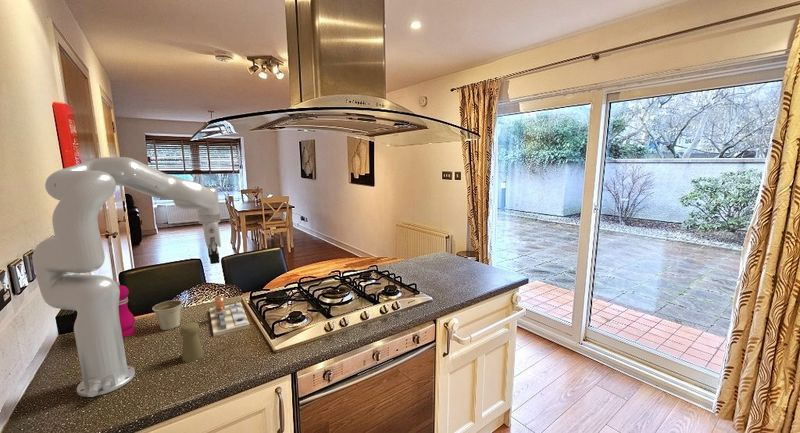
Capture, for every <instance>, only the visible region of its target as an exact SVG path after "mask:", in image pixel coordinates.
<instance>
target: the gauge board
mask: <svg viewBox="0 0 800 433" xmlns="http://www.w3.org/2000/svg"><path fill="white" fill-rule="evenodd" d="M224 306H225V308H229V307H234V306H237V307H238V311H236V309H231V310H227V311H226V316H225V315H224V313H222V314H218V318H216V312H215V310H216V304H214V307H211V308H209V315H210V321H211V328H212V334H213V337H217V336H221V335H224V334H229V333H232V332H233V333H234V332H237V331H241V330H245V329H249V328H250V327H251V324H250V322H249V319H248V317H247V315H246V312H245V309H244V307H243V303H242V302H241V301H239V302H237V301H231V302H224Z"/></svg>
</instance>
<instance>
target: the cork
mask: <svg viewBox="0 0 800 433" xmlns="http://www.w3.org/2000/svg"><path fill="white" fill-rule="evenodd" d="M199 331H200V325H199V324H198V323H197V322H188V323H185V324H183V325H181V327H180V330H179V332H180V335H181V336H182V351H181V352H182V354H181V355H182V356H181V360H182V361H183V362H185V363H187V362H189V363H190V362H194V361H197V360H200V359H201V358H202V357H203V356H204V355H205V353H204V350H203V346H202V342H201V339H200V336H199Z"/></svg>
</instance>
